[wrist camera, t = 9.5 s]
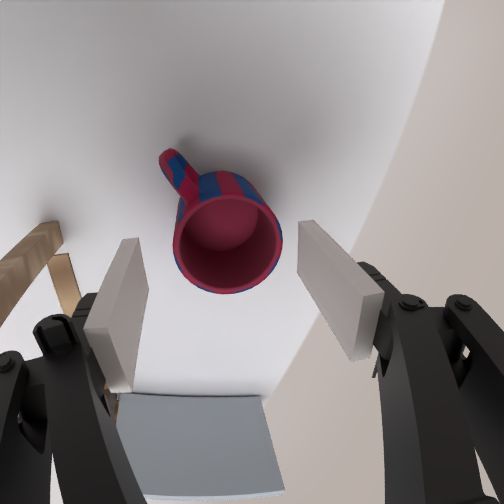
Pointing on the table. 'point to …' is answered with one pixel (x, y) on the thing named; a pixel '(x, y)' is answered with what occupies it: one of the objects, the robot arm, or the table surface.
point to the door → (198, 447)
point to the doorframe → (29, 266)
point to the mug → (221, 228)
